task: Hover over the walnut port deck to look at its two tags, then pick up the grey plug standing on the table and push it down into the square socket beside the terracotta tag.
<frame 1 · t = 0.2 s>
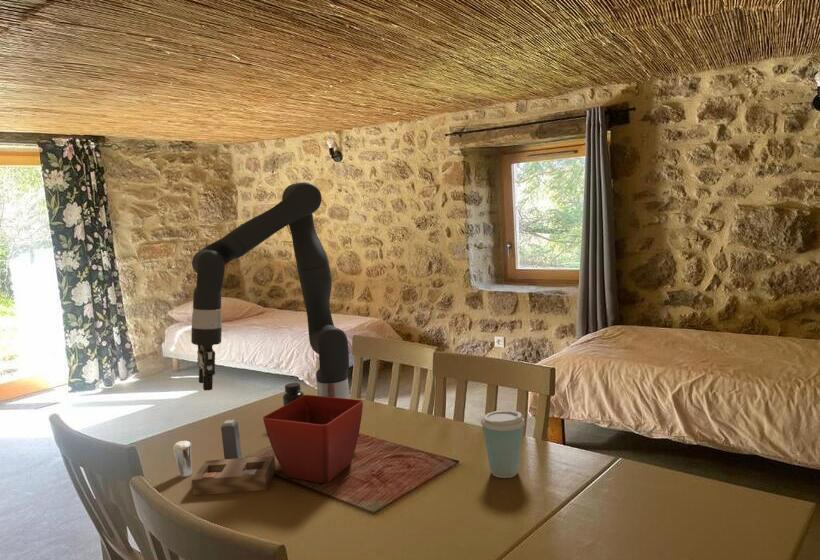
hand: (205, 386, 161), 23 cm above the table, tool pointing down, fingers open, 8 cm apart
port deck: (236, 482, 155), on the table
plug: (233, 462, 167), on the table
supplement bottle: (295, 421, 197), on the table
disposable coffee cup: (505, 473, 150), on the table
plant pot: (320, 471, 159), on the table
milkshake: (187, 475, 162), on the table
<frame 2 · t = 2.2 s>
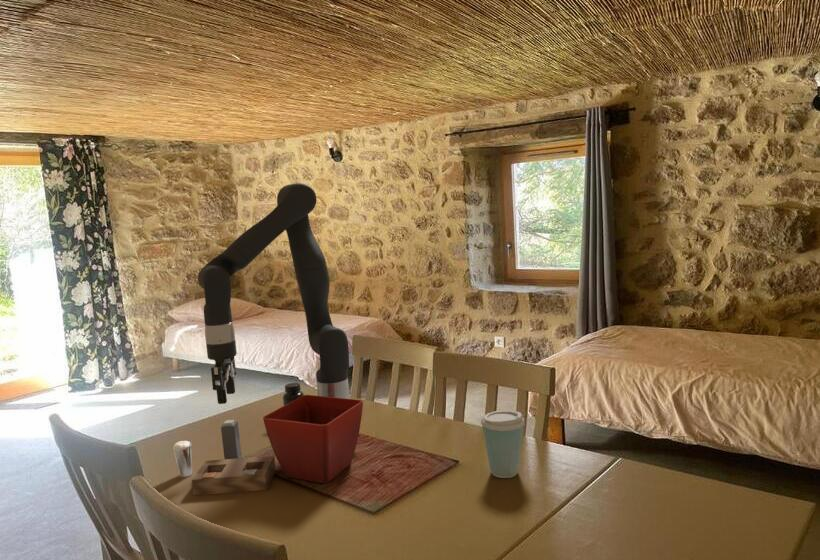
hand: (226, 398, 164), 19 cm above the table, tool pointing down, fingers open, 8 cm apart
nothing on the table moved.
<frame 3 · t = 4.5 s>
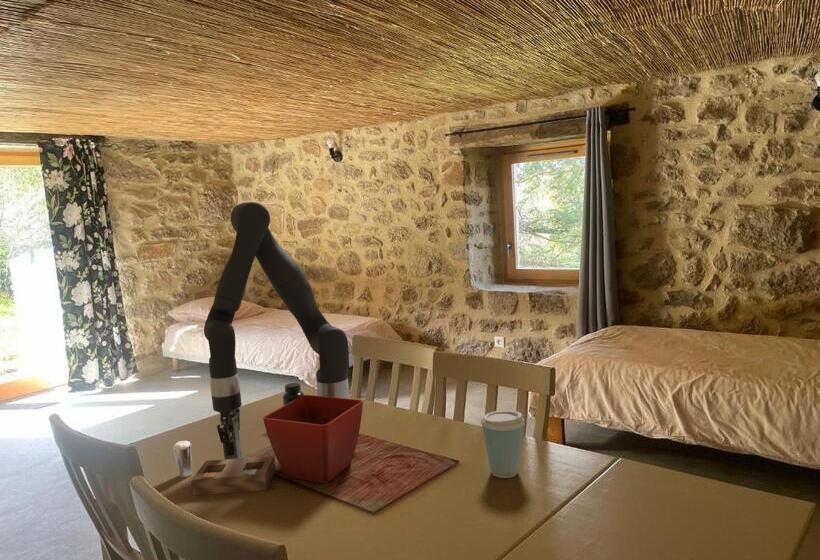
hand: (232, 451, 167), 3 cm above the table, tool pointing down, fingers closed on plug, 3 cm apart
plug: (233, 462, 167), on the table, touching gripper
everything else where it was.
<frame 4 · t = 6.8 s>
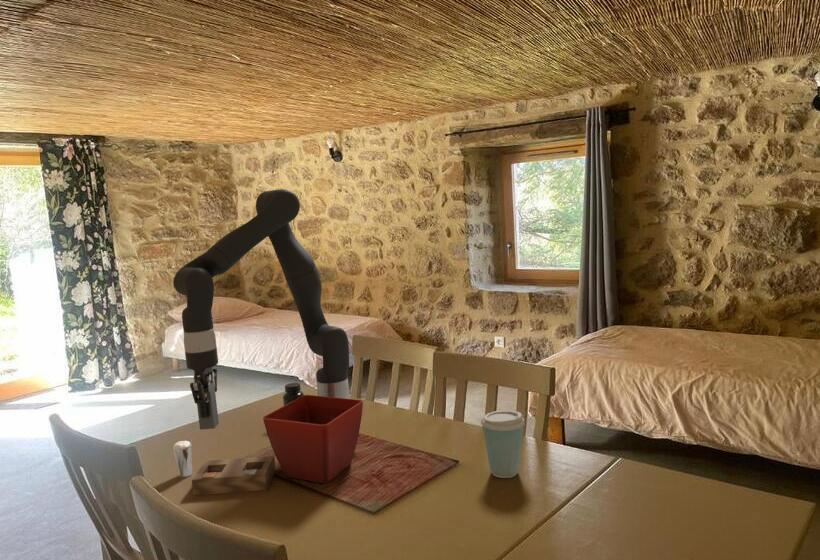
hand: (208, 414, 153), 18 cm above the table, tool pointing down, fingers closed on plug, 3 cm apart
plug: (209, 426, 153), point 15 cm above the table, touching gripper
everything else where it was.
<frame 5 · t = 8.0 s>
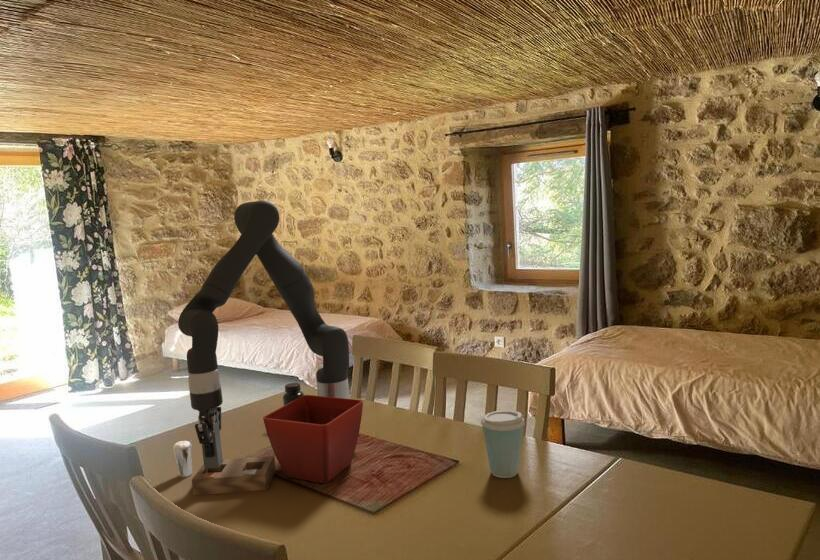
hand: (212, 453, 154), 8 cm above the table, tool pointing down, fingers closed on plug, 3 cm apart
plug: (213, 465, 154), point 5 cm above the table, touching gripper
everything else where it was.
when the fingers open (5 cm above the table, at t = 9.1 s): plug drops 1 cm, resting in port deck.
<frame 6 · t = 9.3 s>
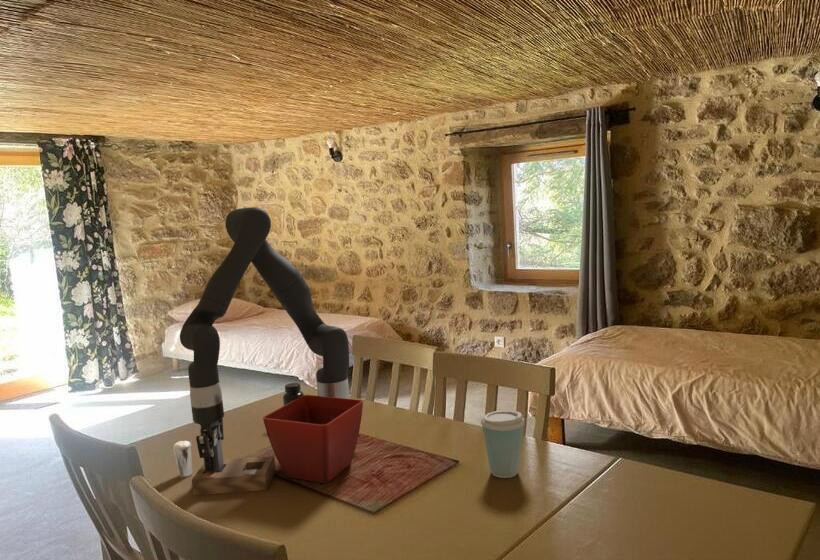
hand: (214, 465, 154), 5 cm above the table, tool pointing down, fingers open, 5 cm apart
plug: (216, 483, 155), resting in port deck
everything else where it was.
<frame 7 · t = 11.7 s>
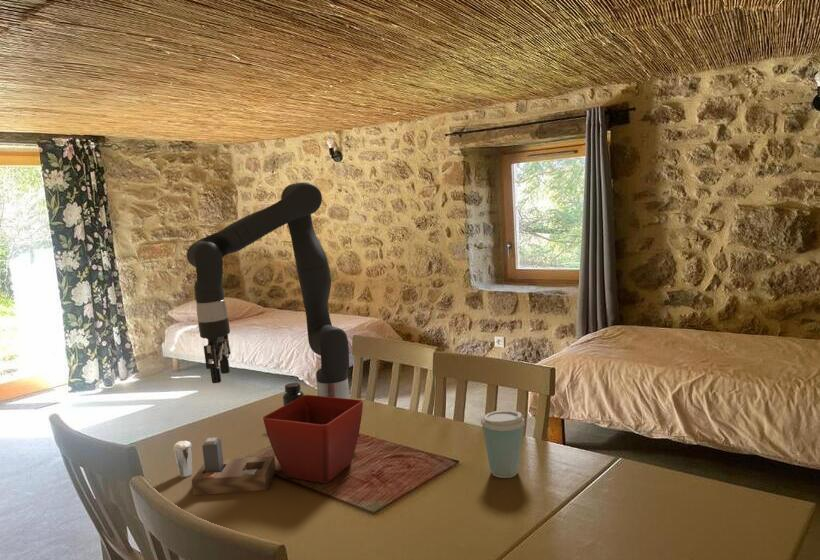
hand: (221, 377, 160), 25 cm above the table, tool pointing down, fingers open, 8 cm apart
nothing on the table moved.
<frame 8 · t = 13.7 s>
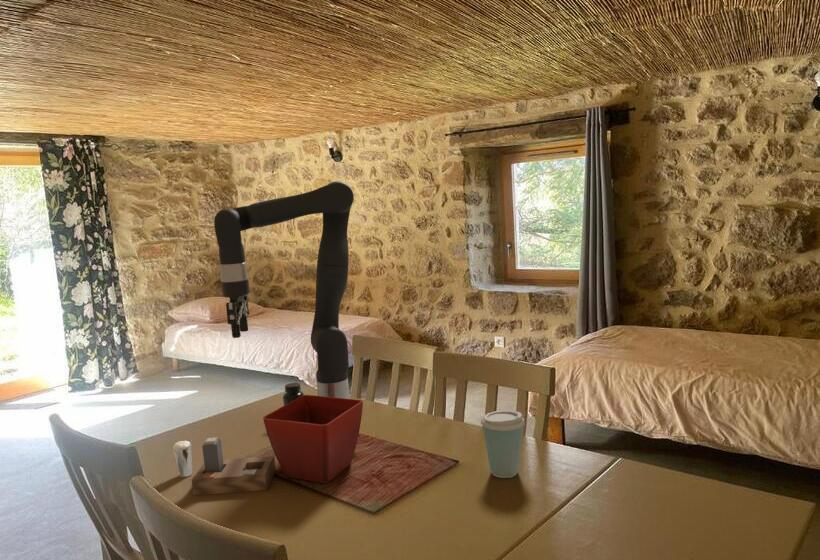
hand: (240, 334, 176), 33 cm above the table, tool pointing down, fingers open, 8 cm apart
nothing on the table moved.
at the end: plug 0.1 cm from the target spot on the port deck, point 0.0 cm above the port deck's base; plug tilted 0°; the gripper is holding nothing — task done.
